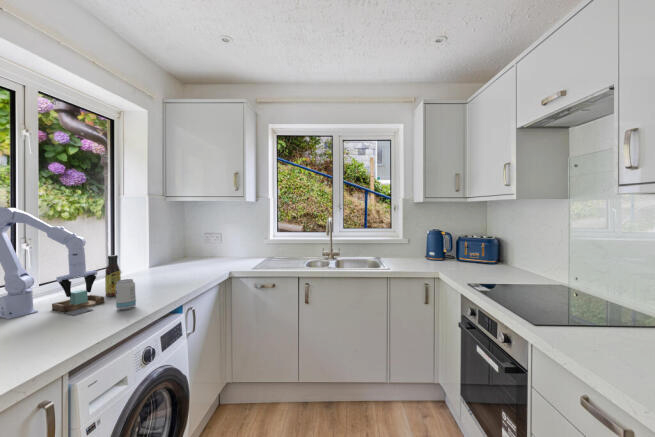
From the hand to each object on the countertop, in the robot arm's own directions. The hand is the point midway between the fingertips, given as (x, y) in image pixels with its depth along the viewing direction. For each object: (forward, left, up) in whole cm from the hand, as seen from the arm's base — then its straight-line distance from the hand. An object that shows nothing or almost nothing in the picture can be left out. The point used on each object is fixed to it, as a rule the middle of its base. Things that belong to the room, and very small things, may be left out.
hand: (78, 294), depth 135 cm
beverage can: (+6, -23, -6) cm, 25 cm away
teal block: (0, 0, -4) cm, 4 cm away
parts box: (0, 0, -5) cm, 5 cm away
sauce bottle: (+17, +5, -6) cm, 18 cm away
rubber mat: (-5, -9, -5) cm, 11 cm away
